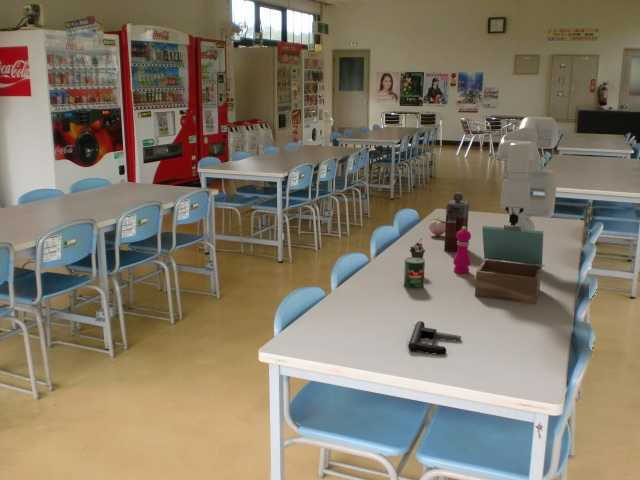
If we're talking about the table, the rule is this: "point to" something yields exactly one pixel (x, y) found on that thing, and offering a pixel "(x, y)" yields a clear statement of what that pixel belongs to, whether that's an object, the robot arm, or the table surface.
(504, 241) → the lid
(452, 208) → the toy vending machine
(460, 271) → the pepper mill
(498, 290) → the box
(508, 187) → the robot arm
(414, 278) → the canned tomato
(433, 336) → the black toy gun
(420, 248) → the sundae
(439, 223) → the decorative fruit
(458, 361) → the table surface
